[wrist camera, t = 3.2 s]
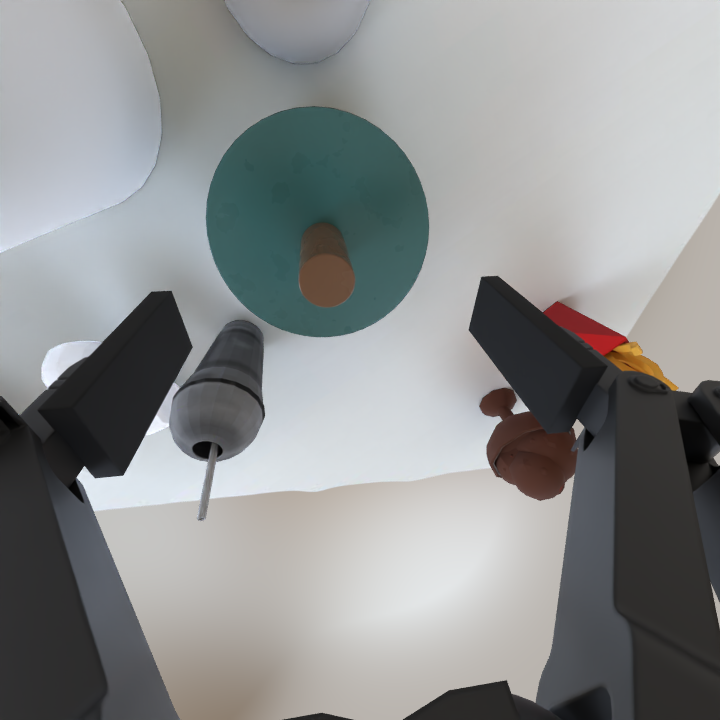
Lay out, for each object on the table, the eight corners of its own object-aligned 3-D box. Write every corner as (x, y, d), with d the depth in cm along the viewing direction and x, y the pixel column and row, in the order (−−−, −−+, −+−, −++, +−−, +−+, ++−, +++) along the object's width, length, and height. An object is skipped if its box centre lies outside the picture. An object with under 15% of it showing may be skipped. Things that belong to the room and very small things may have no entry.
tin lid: (238, 336, 26) (217, 398, 20) (177, 106, 18) (107, 95, 11) (413, 324, 28) (442, 380, 22) (439, 108, 19) (499, 100, 13)
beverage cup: (254, 298, 33) (202, 460, 17) (287, 350, 37) (271, 519, 21) (193, 323, 34) (89, 501, 18) (232, 372, 38) (177, 549, 22)
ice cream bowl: (475, 436, 52) (524, 530, 40) (452, 395, 45) (503, 492, 33) (538, 408, 49) (612, 498, 37) (524, 360, 43) (607, 451, 31)
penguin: (201, 379, 42) (128, 302, 29) (193, 442, 37) (103, 384, 25) (134, 388, 41) (30, 314, 28) (118, 453, 37) (-14, 399, 24)
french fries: (584, 321, 40) (700, 404, 28) (528, 363, 43) (611, 453, 32) (552, 280, 36) (672, 356, 24) (493, 329, 39) (573, 419, 27)
